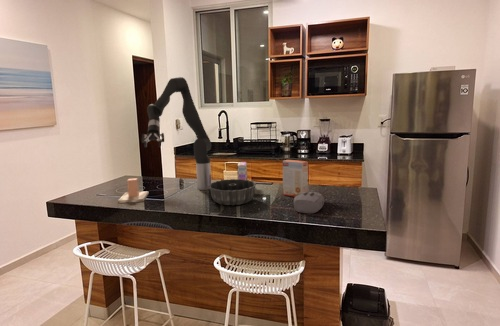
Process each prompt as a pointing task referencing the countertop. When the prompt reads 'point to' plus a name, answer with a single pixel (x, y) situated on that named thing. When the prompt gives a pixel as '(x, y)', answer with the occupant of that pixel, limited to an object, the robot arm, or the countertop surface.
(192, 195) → the countertop surface
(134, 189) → the terracotta block
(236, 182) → the bundt pan
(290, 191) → the cracker box
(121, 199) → the birch board
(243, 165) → the candy box
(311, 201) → the soft grey pack
